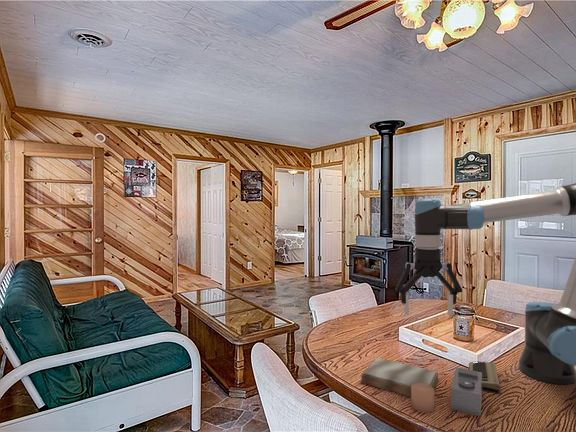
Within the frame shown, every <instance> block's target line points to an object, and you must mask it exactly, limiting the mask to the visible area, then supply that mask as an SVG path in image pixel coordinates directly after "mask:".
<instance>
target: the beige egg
mask: <svg viewBox="0 0 576 432" xmlns="http://www.w3.org/2000/svg"><path fill="white" fill-rule="evenodd" d="M410 401H411V402H410V404H411V407H412V408H413V409H414V410H415V411H418V412H420V413H424V414H428V413H432V412H434V411H435V389H433V387H431V386H430V385H427V384H424V383H415V384H412V386H411V397H410Z"/></svg>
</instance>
